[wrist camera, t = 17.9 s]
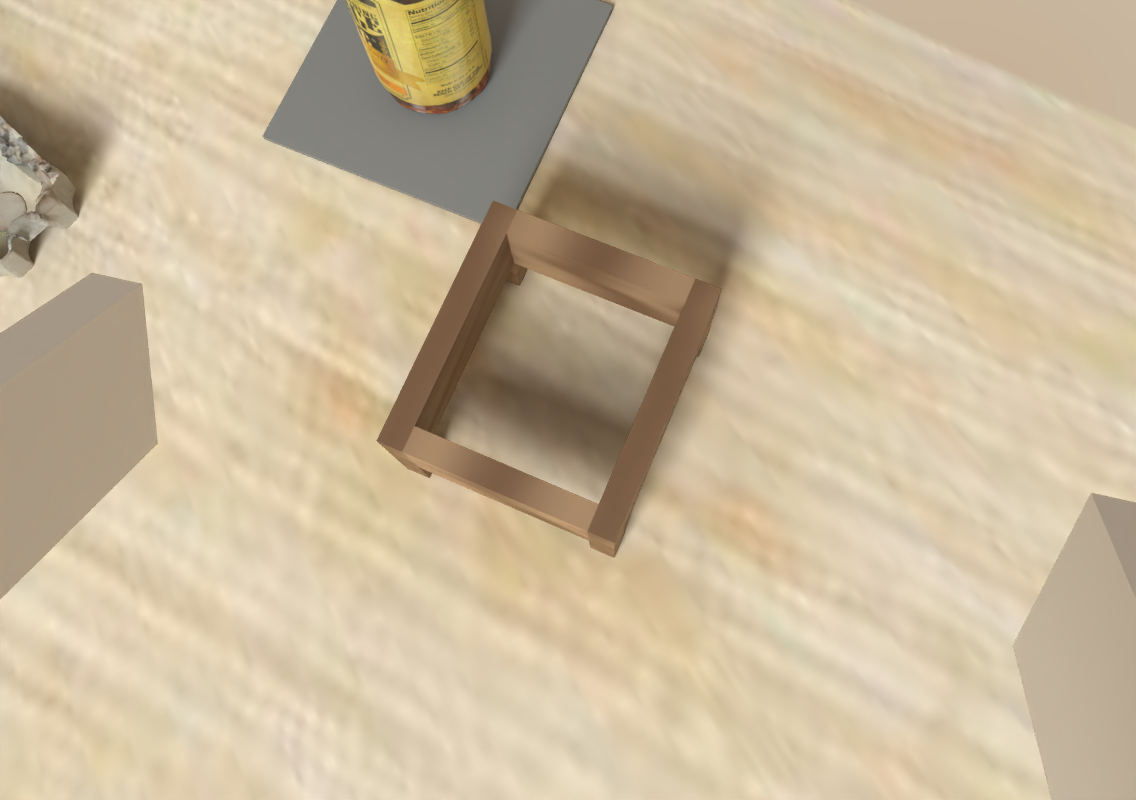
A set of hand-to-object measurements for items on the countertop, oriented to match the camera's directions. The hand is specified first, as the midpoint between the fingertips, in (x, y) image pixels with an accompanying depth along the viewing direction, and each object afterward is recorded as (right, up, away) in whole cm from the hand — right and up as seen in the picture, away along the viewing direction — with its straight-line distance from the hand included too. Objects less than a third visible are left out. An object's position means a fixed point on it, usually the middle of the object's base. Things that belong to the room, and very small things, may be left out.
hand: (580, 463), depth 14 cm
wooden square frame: (-1, +1, +35) cm, 35 cm away
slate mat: (-7, +18, +40) cm, 44 cm away
